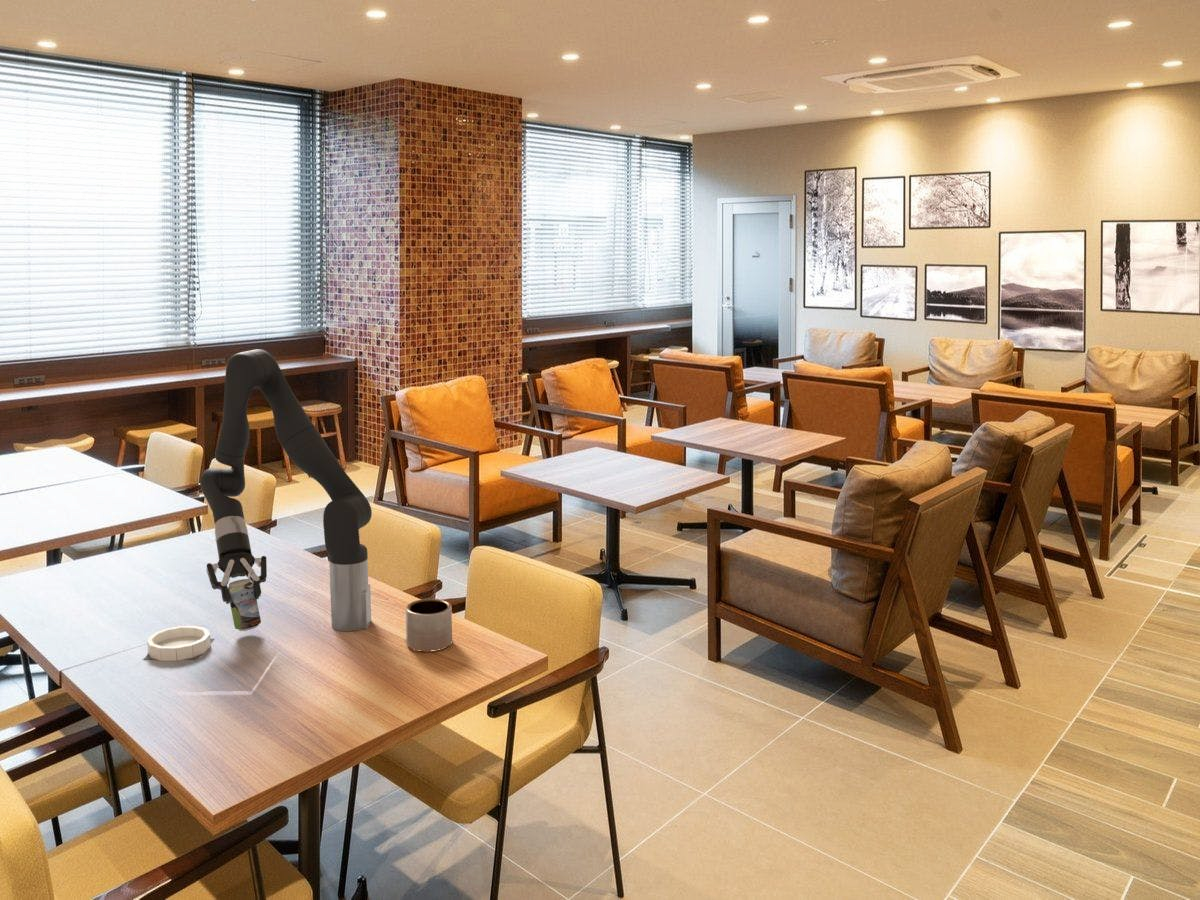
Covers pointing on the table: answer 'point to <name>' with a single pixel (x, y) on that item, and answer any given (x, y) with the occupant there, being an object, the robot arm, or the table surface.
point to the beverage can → (244, 605)
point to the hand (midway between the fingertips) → (242, 599)
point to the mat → (183, 659)
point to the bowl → (178, 643)
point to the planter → (428, 624)
